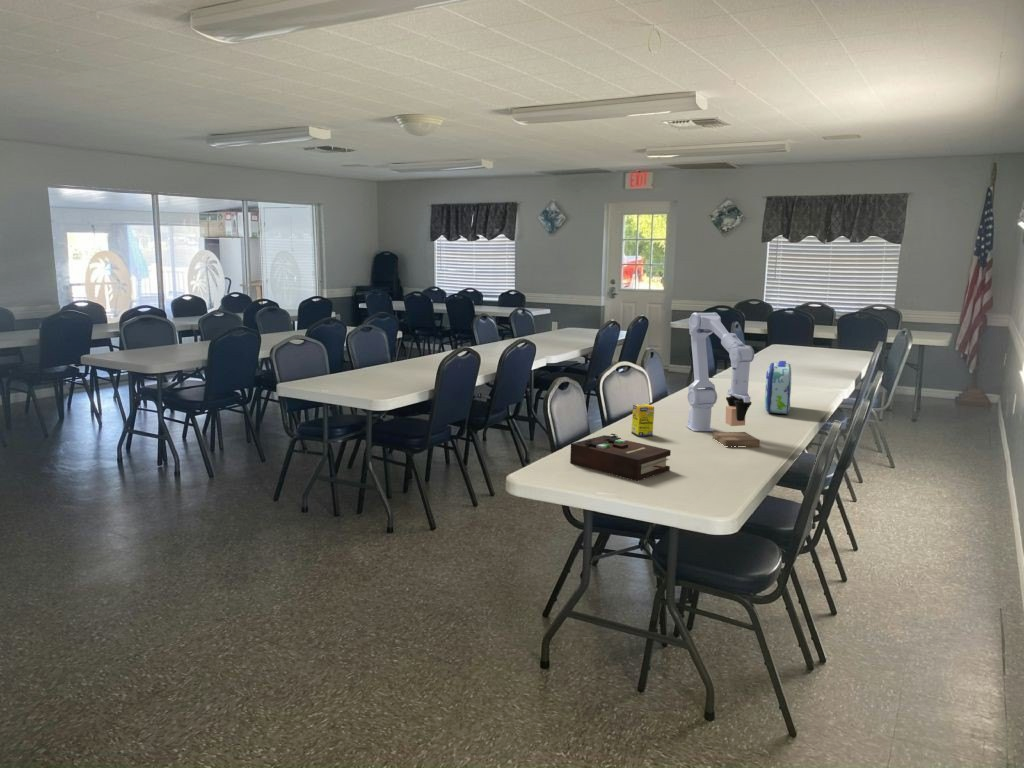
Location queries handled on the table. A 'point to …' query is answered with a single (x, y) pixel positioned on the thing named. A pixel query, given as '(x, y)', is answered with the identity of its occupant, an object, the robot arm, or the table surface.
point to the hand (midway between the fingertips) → (737, 418)
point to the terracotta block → (733, 417)
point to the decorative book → (620, 457)
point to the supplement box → (642, 420)
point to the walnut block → (736, 439)
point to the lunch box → (778, 388)
